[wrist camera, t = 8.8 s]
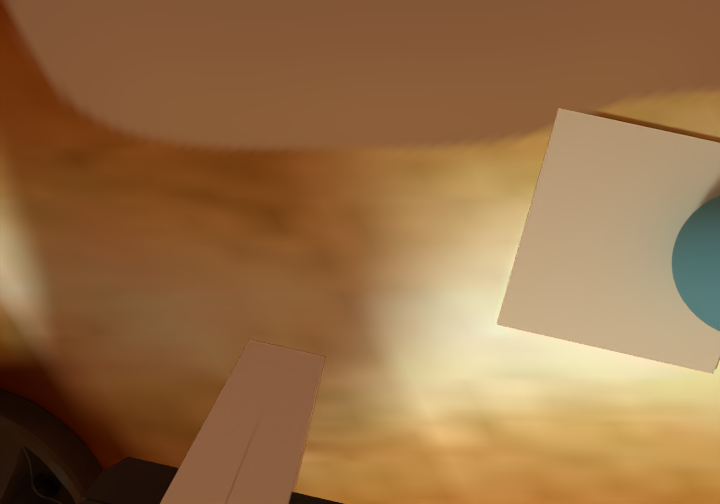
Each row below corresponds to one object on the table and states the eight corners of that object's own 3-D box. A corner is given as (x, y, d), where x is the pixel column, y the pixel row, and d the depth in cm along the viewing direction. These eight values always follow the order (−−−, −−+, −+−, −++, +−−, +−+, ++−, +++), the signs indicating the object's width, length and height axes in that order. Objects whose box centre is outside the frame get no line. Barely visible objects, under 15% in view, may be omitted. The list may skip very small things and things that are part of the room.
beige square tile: (711, 371, 31) (713, 373, 31) (496, 323, 32) (497, 324, 32) (795, 158, 29) (797, 159, 28) (558, 107, 29) (559, 107, 29)
